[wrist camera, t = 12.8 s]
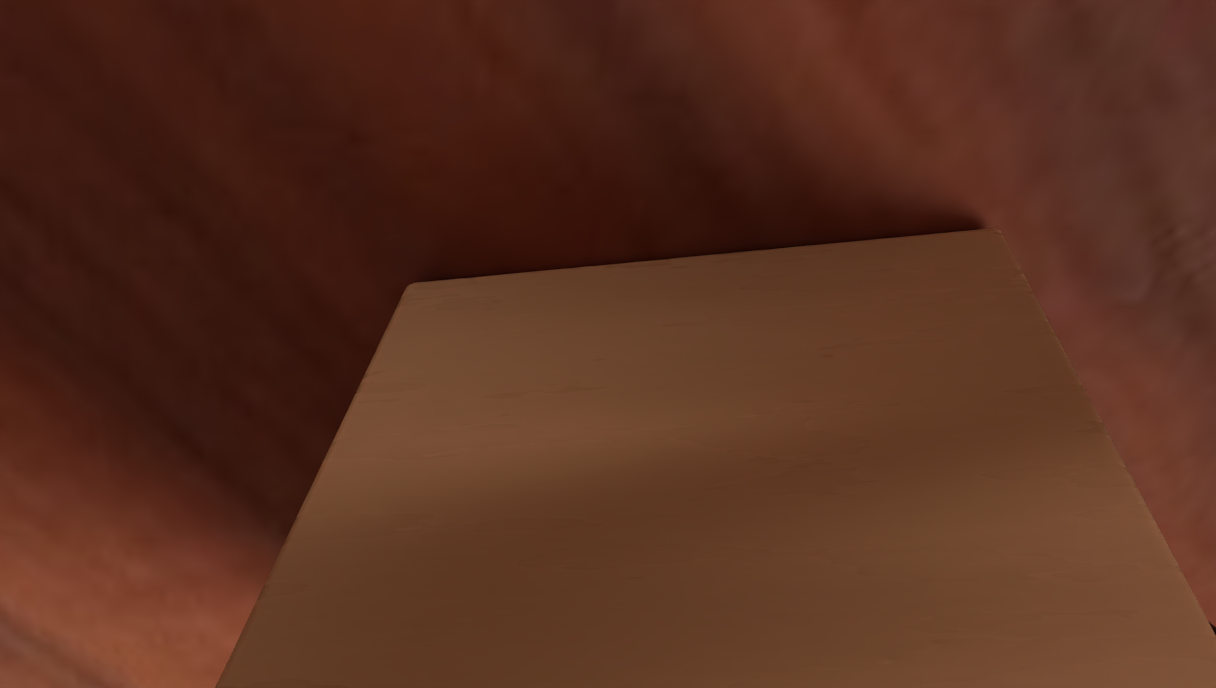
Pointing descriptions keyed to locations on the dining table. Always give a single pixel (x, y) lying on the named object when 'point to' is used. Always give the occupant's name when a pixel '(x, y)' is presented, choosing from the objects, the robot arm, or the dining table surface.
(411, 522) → the letter i block
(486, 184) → the dining table surface
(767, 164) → the dining table surface
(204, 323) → the dining table surface
